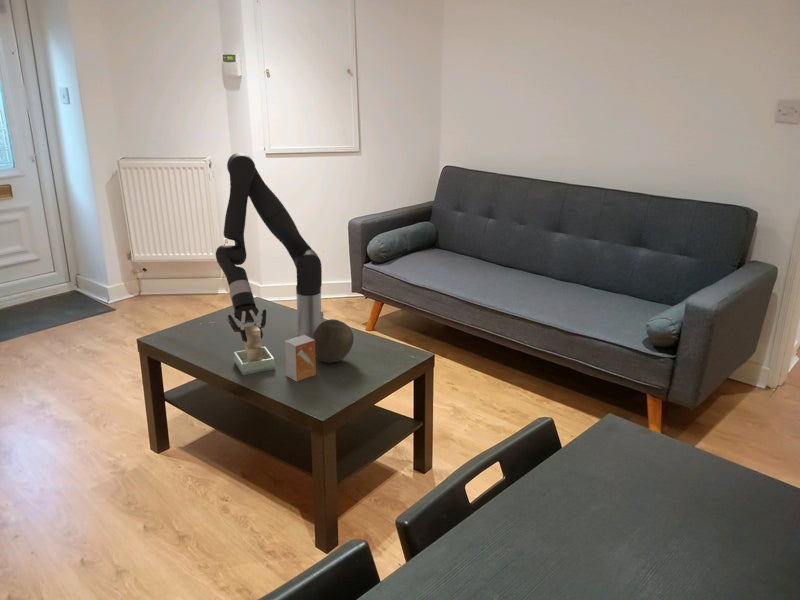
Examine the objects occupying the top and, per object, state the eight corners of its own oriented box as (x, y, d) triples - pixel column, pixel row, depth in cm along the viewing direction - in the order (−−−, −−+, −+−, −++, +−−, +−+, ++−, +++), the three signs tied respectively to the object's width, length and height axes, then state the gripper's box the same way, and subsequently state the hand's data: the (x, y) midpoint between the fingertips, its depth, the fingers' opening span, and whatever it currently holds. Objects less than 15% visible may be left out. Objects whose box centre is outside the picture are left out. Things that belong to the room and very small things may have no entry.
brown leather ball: (329, 373, 227) (328, 332, 222) (304, 360, 237) (303, 320, 232) (361, 361, 237) (361, 322, 232) (336, 349, 246) (335, 311, 241)
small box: (296, 382, 221) (295, 346, 216) (285, 375, 225) (284, 340, 221) (316, 374, 226) (315, 339, 222) (305, 368, 231) (304, 334, 226)
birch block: (258, 356, 234) (256, 325, 230) (262, 361, 231) (260, 329, 226) (245, 359, 232) (243, 327, 228) (249, 364, 229) (247, 332, 224)
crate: (265, 356, 239) (264, 346, 238) (274, 369, 230) (274, 358, 229) (234, 362, 234) (233, 352, 233) (243, 375, 225) (242, 364, 224)
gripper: (222, 293, 227) (234, 339, 222) (263, 288, 234) (275, 332, 228) (220, 303, 234) (231, 348, 228) (260, 297, 240) (271, 340, 234)
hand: (253, 340), depth 228 cm, fingers closed on birch block, 4 cm apart
